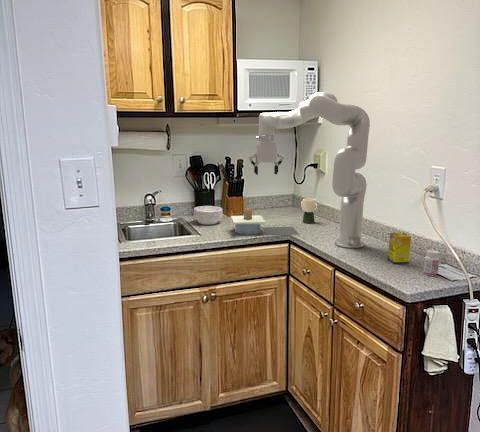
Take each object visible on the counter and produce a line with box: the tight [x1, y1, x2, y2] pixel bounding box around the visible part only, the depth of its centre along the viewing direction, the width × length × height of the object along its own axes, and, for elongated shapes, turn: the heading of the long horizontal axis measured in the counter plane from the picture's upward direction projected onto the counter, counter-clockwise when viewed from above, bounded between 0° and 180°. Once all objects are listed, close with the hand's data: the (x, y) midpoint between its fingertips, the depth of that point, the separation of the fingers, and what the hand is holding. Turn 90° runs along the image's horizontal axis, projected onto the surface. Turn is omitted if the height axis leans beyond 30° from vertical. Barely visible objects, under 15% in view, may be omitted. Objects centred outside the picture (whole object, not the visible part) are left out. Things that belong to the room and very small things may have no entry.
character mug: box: [300, 197, 319, 224], centre depth 238 cm, size 11×7×13 cm, turn 43°
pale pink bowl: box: [193, 205, 224, 226], centre depth 237 cm, size 15×15×8 cm
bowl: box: [234, 224, 261, 236], centre depth 217 cm, size 12×12×6 cm
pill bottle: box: [423, 249, 440, 276], centre depth 159 cm, size 5×5×8 cm
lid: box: [230, 207, 267, 225], centre depth 216 cm, size 15×15×6 cm
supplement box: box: [387, 232, 412, 265], centre depth 173 cm, size 6×6×11 cm
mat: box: [260, 226, 301, 236], centre depth 219 cm, size 16×16×1 cm
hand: (266, 174), depth 222 cm, fingers open, 9 cm apart
